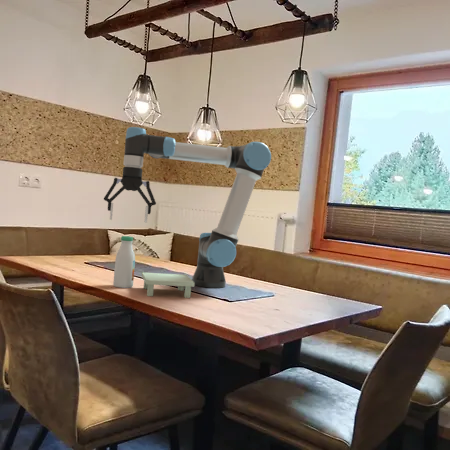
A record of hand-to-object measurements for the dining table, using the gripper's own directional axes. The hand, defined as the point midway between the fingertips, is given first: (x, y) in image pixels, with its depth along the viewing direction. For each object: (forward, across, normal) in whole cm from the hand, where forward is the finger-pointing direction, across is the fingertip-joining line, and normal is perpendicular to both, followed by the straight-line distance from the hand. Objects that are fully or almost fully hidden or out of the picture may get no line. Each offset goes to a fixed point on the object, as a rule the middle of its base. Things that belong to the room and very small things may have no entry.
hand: (128, 220), depth 187 cm
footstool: (+26, -16, +9) cm, 32 cm away
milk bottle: (+26, 0, 0) cm, 26 cm away
